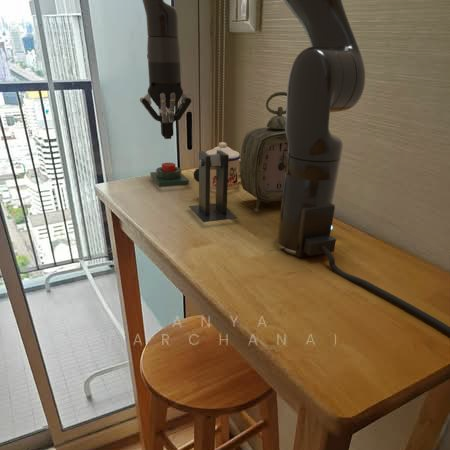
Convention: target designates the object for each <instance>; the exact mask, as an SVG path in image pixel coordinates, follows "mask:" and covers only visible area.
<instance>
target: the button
mask: <svg viewBox="0 0 450 450" xmlns="http://www.w3.org/2000/svg"><path fill="white" fill-rule="evenodd" d="M161 167H162V171H165V172H172V171H176V167H177V166H176V163H174V162H162V163H161Z"/></svg>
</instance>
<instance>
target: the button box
mask: <svg viewBox="0 0 450 450" xmlns="http://www.w3.org/2000/svg"><path fill="white" fill-rule="evenodd" d="M175 167H176V171H172V172H165V171H162V166H159V167H157V168H156V169H155V171H150V173H149V175H150V178H151V179H152V180H153V181H154V183H155V184H156V185H157V187H159V188H165V187H176V186H187V185H189V186H190V179H188V178H187V177H186V176H185V175H184V174H183V173H182V168H180V167H178V166H175Z"/></svg>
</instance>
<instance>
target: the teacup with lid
mask: <svg viewBox="0 0 450 450" xmlns="http://www.w3.org/2000/svg"><path fill="white" fill-rule="evenodd" d="M218 150H221V151H223V152H224V153H226V154H228V155H229V161H228V189H227V190H233V189H235V188H237V187H238V186H239V179H240V180H241V177H240V174H239V170H240V160H241V153H239V152H238V151H237V150H234V149H233V148H231V147H229V146H228V144H227V142H225V141H220V142H219V143H218V146H215V147H214V148H212V149H208V150H207V151H206V152H205V153H206V154H208V155H211V154H217V151H218ZM210 189H212V190H213V189H214V190H216V170H210Z"/></svg>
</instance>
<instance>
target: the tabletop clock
mask: <svg viewBox="0 0 450 450" xmlns="http://www.w3.org/2000/svg"><path fill="white" fill-rule="evenodd" d="M279 96H281V97H283V96H286V97H287V91H277V92H274V93H272V94H271V95H269V96H268V97H267V100H266V101H265V108H266V110H267V111H268V112H269V113H271V114H273V115H274V116H272V117H270V118H269V120H268V122H267V124H266V126H264V127H259V128H253V129H251V130H249V131H247V132H246V133H245V136H244V137H243V140H242V144H241V153H240V159H241V160H240V162H239V172H240V173H239V175H240V177H241V178H240V184H241V187H242V189H243V190H244V191H245V192H246V193H248V194H249V195H251V196H253V197H254V198H256V204H255V207H254V208H253V209H252V212H254V213H259V212H260V209H259V207H260V204H261V202H264V203H266V204H267V203H270V202H282V194H283V185H284V176H285V168H286V159H287V148H288V144H287V139H286V134H285V123H286V116H284V115H286V109H283V106H278V108H277V110H274V109H271V108H270V107H269V102H270V101H271V100H272V99H273V98H275V97H279Z"/></svg>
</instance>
